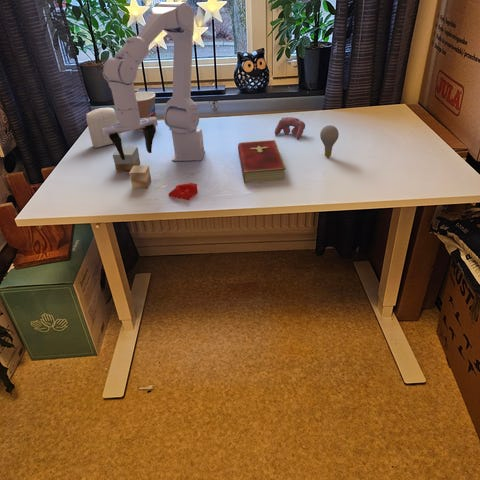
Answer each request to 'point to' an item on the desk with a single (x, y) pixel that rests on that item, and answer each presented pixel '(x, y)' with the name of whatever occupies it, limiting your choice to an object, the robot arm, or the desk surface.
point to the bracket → (184, 191)
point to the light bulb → (329, 138)
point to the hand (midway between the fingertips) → (136, 155)
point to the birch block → (140, 176)
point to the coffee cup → (146, 105)
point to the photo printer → (100, 125)
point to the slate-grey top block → (126, 155)
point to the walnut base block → (126, 166)
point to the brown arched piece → (290, 121)
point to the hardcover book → (260, 161)
